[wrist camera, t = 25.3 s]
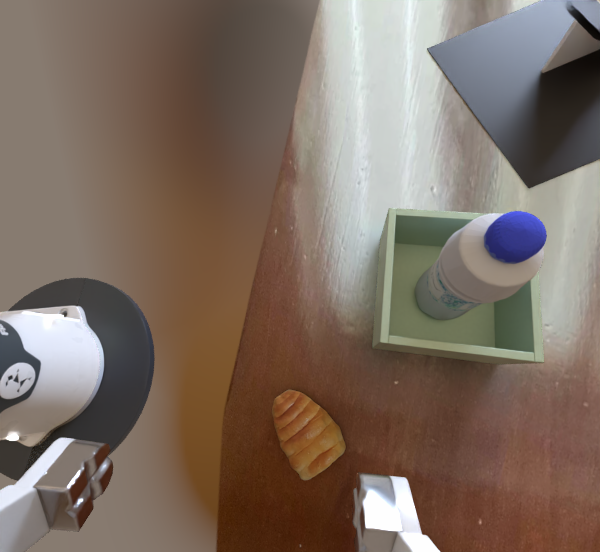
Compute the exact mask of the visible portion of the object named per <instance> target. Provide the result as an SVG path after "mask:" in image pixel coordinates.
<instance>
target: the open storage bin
mask: <svg viewBox="0 0 600 552" xmlns="http://www.w3.org/2000/svg"><path fill="white" fill-rule="evenodd" d="M483 215H487V214H481V213H464V212H447V211H430V210H413V209H393V208H389V210H388V214H387V217H386V221H385V224H384V228H383V231H382V235H381V238H380V247H379V260H378V274H377V287H376V301H375V314H374V328H373V341H372V348H373V349H381V350H389V351H397V352H405V353H412V354H420V355H428V356H436V357H444V358H452V359H460V360H467V361H475V362H483V363H491V364H525V363H544V353H543V337H542V321H541V304H540V288H539V272H538V273H537V274H536V275H535V276H534V277H533V278H532V279H531V280H530V281H529V282H527V283H526V284H525V285H524V286H522V287H521V288H520V289H519V290H518V291H517V292H516V293H515V294H513V295H511V296H510V297H508V298H505V299H502V300H499V301H495V302H492V303H483V304H481V305H478V306H476V307H474V308H472V309H471V310H469V311H468V312H467V313H465V314H463V315H462V316H460V317H457V318H454V319H449V320H438V319H435V318H434V317H432V316H430V315H428V314H427V313H425V312H423V311H422V310H421V309H420V308H419V306H418V302H417V299H416V296H415V287H416V284H417V282H418V280H419V278H420V277H421V276H422V274H423V273H424V272H425V271H427V270H428V269H429V268H430V267H432V265H433V264H434V263H435V262H436V261H437V260H438V258H439V256H440V253H441V250H442V248H443V247H444V245H445V244H446V242H447V240H448V239H449V238H450V237H451V236H452V235H453V234H454V233H455V232H457V231H458V230H460V229H462V228H463V227H464V226H466V225H467V224H468V223H470V222H471V221H472V220H474V219H476V218H478V217H480V216H483Z"/></svg>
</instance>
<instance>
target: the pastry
mask: <svg viewBox="0 0 600 552" xmlns="http://www.w3.org/2000/svg"><path fill="white" fill-rule="evenodd" d="M272 414H273V418H274V426H275V430H276V432H277V436H278V439H279V440H280V446H281V449H282V450H283V451H284V452H285V453H286V456H287V457H288V458H289V464H290V466H291V468H292V469H294V470H295V471H297V472H298V474H299V476H300V478H301V479H303V480H309V479H311V478H312V477H314V476H316V475H317V474H319V473H321V472H322V471H323V470H325V469H327V468H328V467H329V466H330V465H331V464H332V462H333V461H335V460H336V459H337V458H338V457H340V456H341V455H342V454H343V453H344V451H345V448H346V446H345V442H344V440H343V437H342V433H341V430H340V428H339V426H338V425H337V424H336V423H335V422H334V421H333V419H332V418H331V417H330V416H329V414H328V413H327V412H326V411H325V410H324V409H322V408H321V407H320V406H319V405H317V404H316V403H315V402H314V401H313V400H311V399H310V398H309V397H308V396H306V395H305V394H303V393H301V392H298V391H294V390H287V391H285V392H283V393H282V394H281V395H279V396H278V397H276V398H275V400H274V404H273V408H272Z"/></svg>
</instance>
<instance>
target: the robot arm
mask: <svg viewBox="0 0 600 552" xmlns="http://www.w3.org/2000/svg"><path fill="white" fill-rule="evenodd" d="M66 314H67V316H66ZM103 371H104V353H103V349H102V345H101V343H100V341H99V339H98V337H97V335H96V334H95V333H94V332H93V330H92V329H91V328H90V327H89V326H88V324H87V320H86V316H85V313H84V310H83V309H82V308H81V307H80V306H62V307H51V308H40V309H29V310H18V311H7V312H0V440H5V439H8V440H10V441H14V440H16V441H18V442H20V443H21V444H23V445H25V446H28V447H31V446H38V445H40V444H41V443H43V442H44V441H45V440H46V439H47V438H48V437H49V436H50V435H51V433H52V432H53V431H54V430H55V429H57V428H59V427H60V426H62V425H64V424H66V423H68V422H70V421H72V420H73V419H75V418H76V417H77V416H79V415H80V414H81V413H82V412H83V411H84V410H85V409H86V408H87V406H88V405H89V404H90V403H91V401H92V400H93V398H94V396H95V395H96V393H97V391H98V389H99V386H100V383H101V380H102V376H103ZM109 452H110V448H109V444H105V443H98V442H91V441H84V440H77V439H69V438H59V439H58V440H56V441H54V442H53V443H52V445H51V446H50V447H49V448H48V449H47V450H46V451H45V452H44V453H43V454H42V455H41V457H40V458H39V459H38V460H37V461H36V462H35V463H34V464H33V465H32V466H31V468H30V469H29V470H28V471H27V472H26V473H25V474H24V475H23V476H22V477H21V478H20V480H19V481H18V482H17V483H16V484H15V485H9V486H7V487H5V488H3V489H1V490H0V552H25V551H27V550H28V549H29V548H30V547H31V546H33V545H34V544H35V543H36V542H38V541H39V540H40V539H41V538H42V537H44V536H45V535H46V534H47V533H49V532H50V529H52V530H64V531H74V532H79V530H80V528H81V527H82V526H83V524H84V522H85V521H86V519H87V518H88V516H89V515H90V513H91V512H92V510H93V500H95V499H96V498H97V497H99V496H100V495H102V494H103V492H104V491H105V489H106V487H107V486H108V484H109V482H110V479H111V476H112V473H113V463H112V461H111V460H110V458H109V457H108V456H107V455H108V454H109ZM356 487H357V488H355V489H354V491H353V497H352V521H353V525H354V527H355V528H356V534H355V538H354V545H355V552H440V551H439V550H438V549H437V547H436V546H435V545H434V544H433V542H432V541H431V540H430V539H429V537H428V536H427V535H422V533H421V529H420V525H419V521H418V518H417V514H416V510H415V506H414V502H413V499H412V495H411V491H410V487H409V484H408V481H407V479H406V478H404V477H395V476H389V475H381V474H371V473H361V472H358V474H357V477H356Z"/></svg>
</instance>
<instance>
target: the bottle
mask: <svg viewBox="0 0 600 552" xmlns="http://www.w3.org/2000/svg"><path fill="white" fill-rule="evenodd" d="M546 237H547V235H546V230H545V227H544V225H543V223H542V222H541V221H540V220H539V219H538V218H537V217H536V216H534V215H532V214H530V213H527V212H522V211H514V212H509V213H506V214H499V213H494V214H487V215H483V216H480V217H478V218H476V219H474V220H472V221H471V222H470V223H468V224H467V225H466V226H464V227H463V228H462V229H460V230H458V231H457V232H455V233H454V234H453V235H452V236H451V237H450V238H449V239H448V240H447V242H446V244H445V245H444V247H443V248H442V250H441V253H440V256H439V258H438V260H437V261H436V262H435V263H434V264H433V265H432V267H430V268H429V269H428V270H427V271H425V272H424V273H423V274H422V276H421V277H420V278H419V280H418V282H417V284H416V287H415V296H416V299H417V302H418V306H419V308H420V309H421V310H422V311H423V312H425V313H427V314H428V315H430V316H432V317H434V318H435V319H438V320H449V319H454V318H457V317H460V316H462V315H463V314H465V313H467V312H468V311H469V310H471V309H472V308H474V307H476V306H478V305H481V304H483V303H492V302H495V301H499V300H502V299H505V298H508V297H510V296H511V295H513V294H515V293H516V292H517V291H518V290H519V289H520V288H521V287H522V286H524V285H525V284H526V283H527V282H529V281H530V280H531V279H532V278H533V277H534V276H535V275H536V274H537V273H538V271H539V270H540V268H541V266H542V263H543V258H544V249H543V246H544V244H545V241H546Z"/></svg>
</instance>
